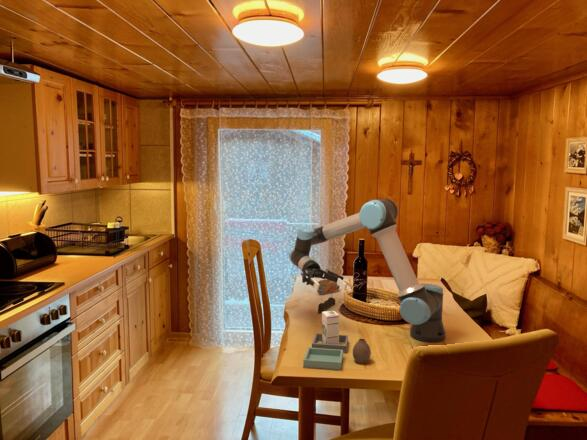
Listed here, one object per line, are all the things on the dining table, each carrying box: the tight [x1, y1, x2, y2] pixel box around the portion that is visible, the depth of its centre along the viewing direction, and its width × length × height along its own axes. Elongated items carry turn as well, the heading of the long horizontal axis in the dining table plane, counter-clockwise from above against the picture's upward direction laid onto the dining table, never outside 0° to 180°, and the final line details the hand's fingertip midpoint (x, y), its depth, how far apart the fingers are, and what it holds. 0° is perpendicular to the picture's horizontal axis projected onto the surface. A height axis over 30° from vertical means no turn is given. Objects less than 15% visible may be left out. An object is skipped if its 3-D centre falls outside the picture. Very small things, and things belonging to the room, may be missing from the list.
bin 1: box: [311, 332, 349, 354], centre depth 200 cm, size 14×12×3 cm
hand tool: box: [317, 297, 336, 315], centre depth 249 cm, size 19×4×5 cm, turn 152°
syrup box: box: [321, 310, 340, 345], centre depth 199 cm, size 6×6×14 cm
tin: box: [316, 279, 341, 296], centre depth 277 cm, size 15×3×8 cm, turn 119°
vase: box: [352, 338, 372, 364], centre depth 185 cm, size 7×7×9 cm
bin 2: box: [302, 347, 344, 371], centre depth 184 cm, size 14×12×3 cm
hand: (332, 287), depth 202 cm, fingers open, 13 cm apart
